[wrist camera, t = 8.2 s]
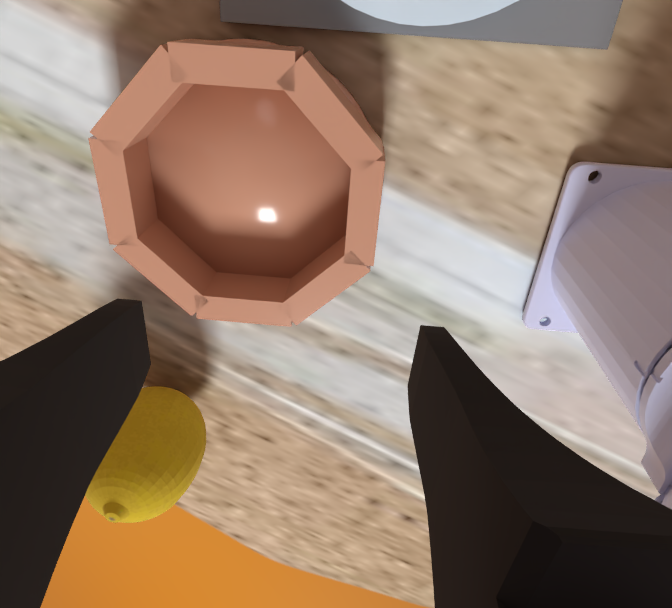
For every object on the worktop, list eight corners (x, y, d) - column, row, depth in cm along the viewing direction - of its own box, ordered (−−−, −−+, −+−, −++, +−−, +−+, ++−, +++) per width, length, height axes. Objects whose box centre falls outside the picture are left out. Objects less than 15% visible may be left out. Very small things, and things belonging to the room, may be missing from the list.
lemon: (107, 382, 28) (21, 503, 21) (177, 342, 26) (107, 460, 19) (173, 441, 30) (115, 568, 23) (241, 408, 28) (200, 535, 21)
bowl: (396, 49, 18) (400, 55, 16) (368, 300, 24) (367, 335, 21) (106, 27, 18) (63, 30, 16) (148, 281, 24) (121, 313, 21)
